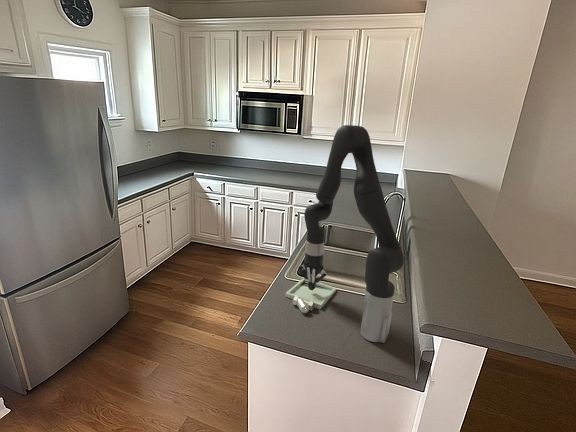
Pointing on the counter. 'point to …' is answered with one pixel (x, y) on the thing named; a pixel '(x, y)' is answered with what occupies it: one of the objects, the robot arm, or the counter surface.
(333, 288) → the tray
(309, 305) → the pipe fitting
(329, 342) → the counter surface
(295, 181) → the counter surface
